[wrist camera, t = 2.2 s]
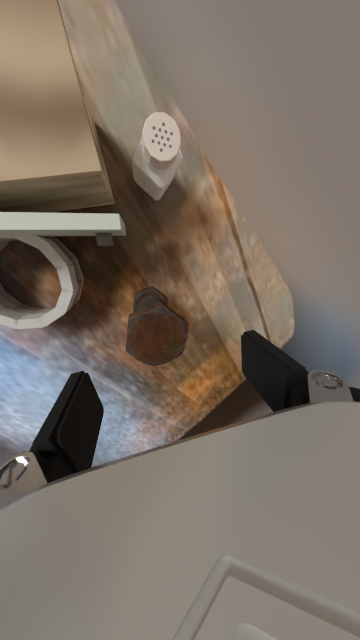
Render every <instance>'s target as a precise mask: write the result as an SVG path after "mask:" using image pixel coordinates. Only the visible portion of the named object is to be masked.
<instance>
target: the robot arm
mask: <svg viewBox="0 0 360 640" xmlns="http://www.w3.org/2000/svg"><path fill="white" fill-rule="evenodd" d="M241 351H242V372H243V374H244V376H245V377H246V378H247V379H248V381H249V382H250V383H251V384H252V386H253V387H254V388H255V389H256V391H257V392H258V393H259V394H260V395H261V397H262V398H263V399H264V400H265V402H266V403H267V404H268V405H269V407H270V408H271V409H272V410H273V413H269V414H266V415H262V416H259V417H256V418H252V419H249V420H245V421H242V422H239V423H235V424H232V425H228V426H225V427H222V428H219V429H215V430H212V431H209V432H205V433H202V434H199V435H196V436H192V437H189V438H185V439H183V440H179V441H176V442H172V443H169V444H166V445H162V446H159V447H156V448H153V449H150V450H146V451H143V452H140V453H137V454H133V455H130V456H127V457H124V458H121V459H117V460H114V461H111V462H108V463H105V464H102V465H99V466H95V467H92V468H91V466H92V461H93V457H94V453H95V448H96V444H97V440H98V435H99V431H100V426H101V422H102V418H103V413H104V409H103V406H102V403H101V401H100V399H99V397H98V394H97V392H96V390H95V388H94V385H93V383H92V381H91V379H90V376H89V374H88V373H85V372H84V371H81V372H77V373H73V374H71V375H70V377H69V379H68V381H67V382H66V384H65V386H64V388H63V390H62V391H61V393H60V395H59V397H58V399H57V400H56V402H55V404H54V406H53V408H52V409H51V411H50V413H49V415H48V417H47V418H46V420H45V422H44V424H43V426H42V427H41V429H40V431H39V433H38V435H37V436H36V438H35V440H34V442H33V445H32V447H31V449H30V451H29V452H28V451H27V452H22V453H20V454H18V455H15V456H14V457H12V458H11V459H9V460H8V461H6V462H5V463H4V464H3V465H2V466H0V640H360V389H357V388H353V387H349V386H348V384H347V382H346V381H345V379H343V378H342V377H341V376H339V375H337V374H335V373H333V372H331V371H326V370H313V371H311V372H308V371H306V370H305V367H303V366H302V365H301V364H299V363H298V362H297V361H295V360H294V359H293V358H291V357H290V356H288V355H287V354H286V353H284V352H283V351H281V350H280V349H279V348H278V347H276V346H275V345H273V344H272V343H271V342H269V341H268V340H267V339H265V338H264V337H263V336H261V335H260V334H258V333H257V332H256V331H254V330H251V331H246V332H244V333H243V335H242V336H241Z"/></svg>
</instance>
